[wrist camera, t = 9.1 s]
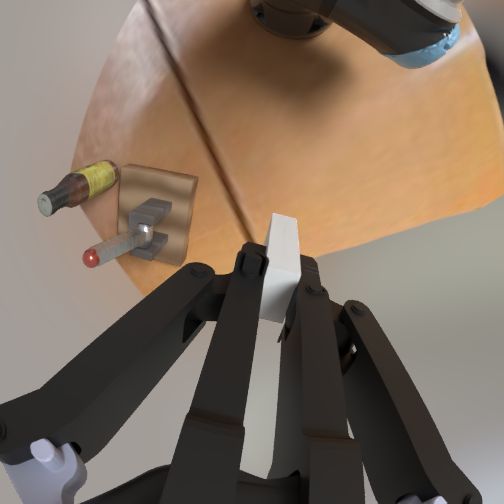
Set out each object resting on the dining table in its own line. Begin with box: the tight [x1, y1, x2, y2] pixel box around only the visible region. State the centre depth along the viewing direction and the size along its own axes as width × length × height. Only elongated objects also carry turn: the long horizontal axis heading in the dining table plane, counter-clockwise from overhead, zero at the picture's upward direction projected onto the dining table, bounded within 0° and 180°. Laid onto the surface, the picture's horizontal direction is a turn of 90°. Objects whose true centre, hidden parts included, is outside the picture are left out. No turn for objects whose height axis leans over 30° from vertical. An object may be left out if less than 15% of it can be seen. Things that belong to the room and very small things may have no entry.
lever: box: [83, 211, 153, 268], centre depth 43 cm, size 4×7×16 cm, turn 77°
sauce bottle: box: [38, 160, 118, 217], centre depth 44 cm, size 6×6×20 cm
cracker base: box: [118, 164, 198, 266], centre depth 50 cm, size 18×15×12 cm
